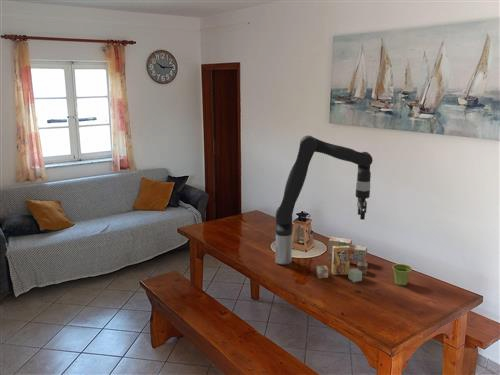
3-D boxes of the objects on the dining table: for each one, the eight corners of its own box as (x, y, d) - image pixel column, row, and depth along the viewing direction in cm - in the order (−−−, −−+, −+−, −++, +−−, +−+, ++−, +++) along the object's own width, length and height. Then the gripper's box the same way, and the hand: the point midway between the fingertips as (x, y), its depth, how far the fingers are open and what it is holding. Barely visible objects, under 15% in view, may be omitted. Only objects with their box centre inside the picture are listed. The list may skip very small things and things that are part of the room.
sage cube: (353, 282, 232) (354, 273, 231) (348, 278, 237) (348, 269, 236) (361, 280, 234) (362, 271, 233) (356, 276, 239) (356, 268, 237)
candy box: (347, 271, 245) (348, 245, 241) (349, 274, 241) (350, 248, 237) (331, 271, 245) (332, 245, 241) (332, 275, 241) (334, 248, 237)
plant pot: (401, 288, 225) (402, 273, 222) (387, 281, 233) (388, 266, 231) (414, 284, 229) (415, 269, 227) (400, 277, 237) (401, 262, 235)
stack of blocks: (366, 262, 258) (367, 242, 255) (364, 266, 252) (365, 245, 249) (331, 255, 267) (331, 236, 264) (327, 259, 262) (328, 239, 259)
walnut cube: (356, 273, 242) (357, 265, 241) (357, 270, 247) (358, 261, 246) (366, 275, 241) (366, 266, 239) (366, 271, 245) (367, 262, 244)
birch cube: (318, 278, 237) (319, 269, 236) (316, 274, 242) (316, 265, 241) (328, 277, 238) (328, 269, 236) (325, 273, 242) (325, 265, 241)
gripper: (354, 185, 250) (352, 213, 254) (358, 191, 236) (356, 220, 240) (367, 185, 250) (365, 213, 254) (372, 192, 236) (370, 221, 240)
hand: (361, 216), depth 247 cm, fingers open, 8 cm apart
